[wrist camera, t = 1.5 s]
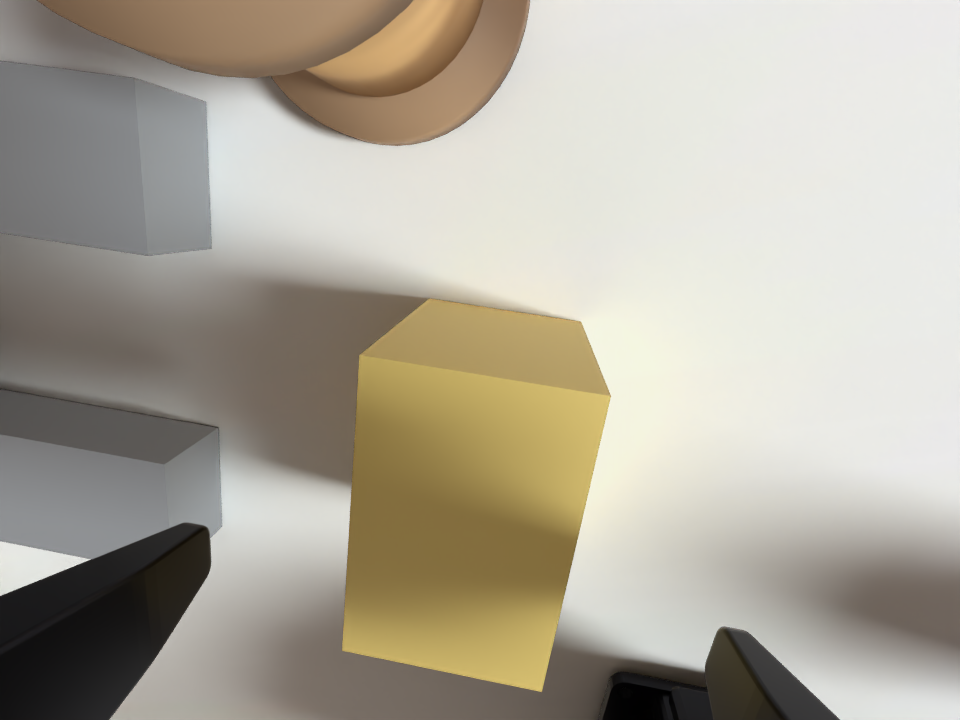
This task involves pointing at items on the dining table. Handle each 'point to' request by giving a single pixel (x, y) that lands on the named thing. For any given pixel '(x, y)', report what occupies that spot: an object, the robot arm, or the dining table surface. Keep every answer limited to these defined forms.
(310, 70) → the ball
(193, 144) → the gray u-shaped block
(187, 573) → the robot arm
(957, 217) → the dining table surface
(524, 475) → the tab
